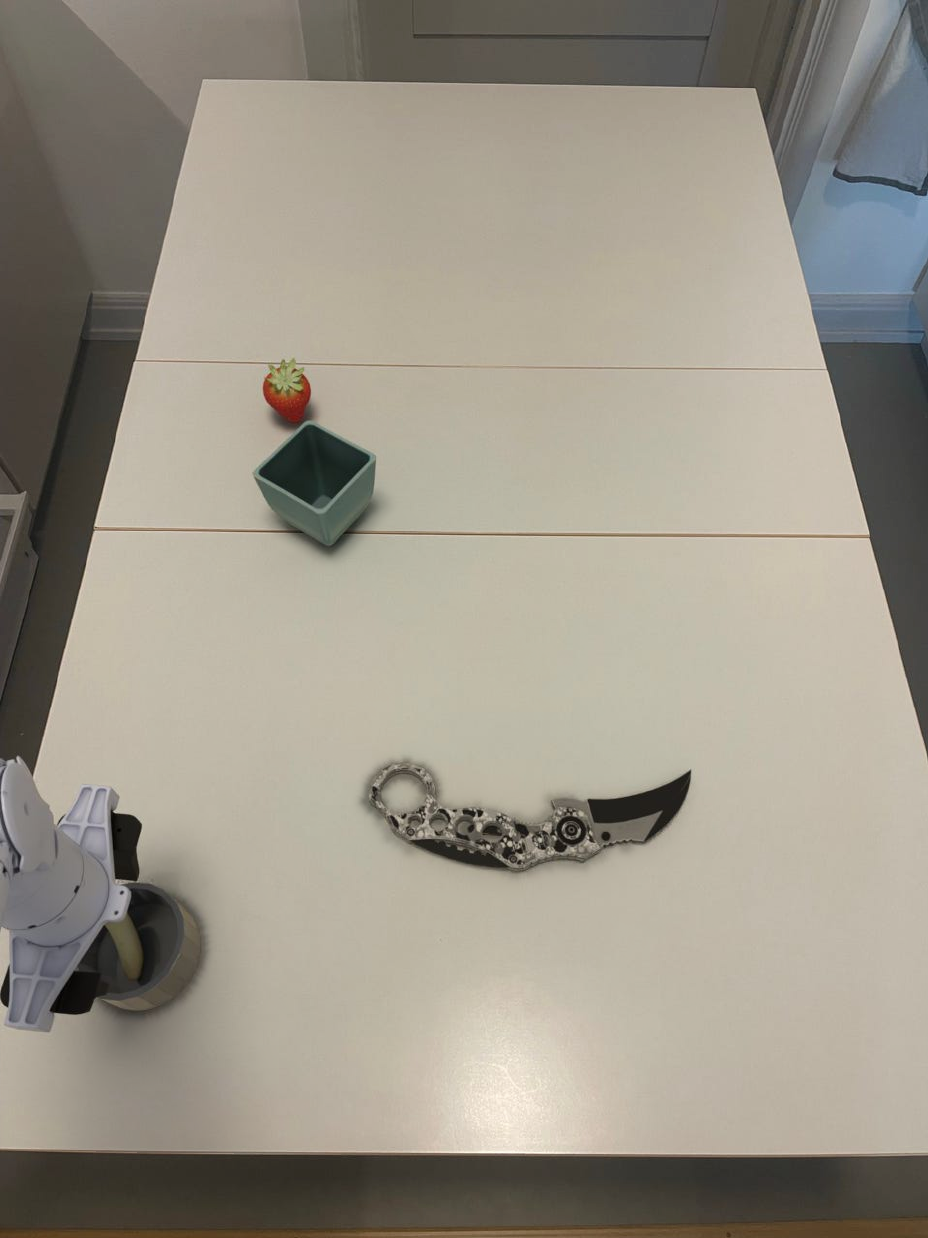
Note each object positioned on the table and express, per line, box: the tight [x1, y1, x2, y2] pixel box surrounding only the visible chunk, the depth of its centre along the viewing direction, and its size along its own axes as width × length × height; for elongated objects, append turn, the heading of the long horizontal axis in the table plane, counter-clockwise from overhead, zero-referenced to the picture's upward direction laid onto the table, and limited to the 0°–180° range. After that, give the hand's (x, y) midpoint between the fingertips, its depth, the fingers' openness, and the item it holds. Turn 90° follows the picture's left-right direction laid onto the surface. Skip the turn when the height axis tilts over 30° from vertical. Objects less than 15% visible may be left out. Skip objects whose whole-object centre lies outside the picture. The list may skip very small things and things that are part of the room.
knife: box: [368, 762, 692, 872], centre depth 76 cm, size 28×2×10 cm
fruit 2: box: [262, 357, 312, 423], centre depth 97 cm, size 5×5×8 cm
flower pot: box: [252, 420, 377, 547], centre depth 89 cm, size 9×9×9 cm
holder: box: [74, 881, 202, 1012], centre depth 68 cm, size 8×8×6 cm
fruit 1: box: [104, 913, 143, 980], centre depth 67 cm, size 4×8×2 cm
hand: (109, 930), depth 62 cm, fingers open, 7 cm apart
